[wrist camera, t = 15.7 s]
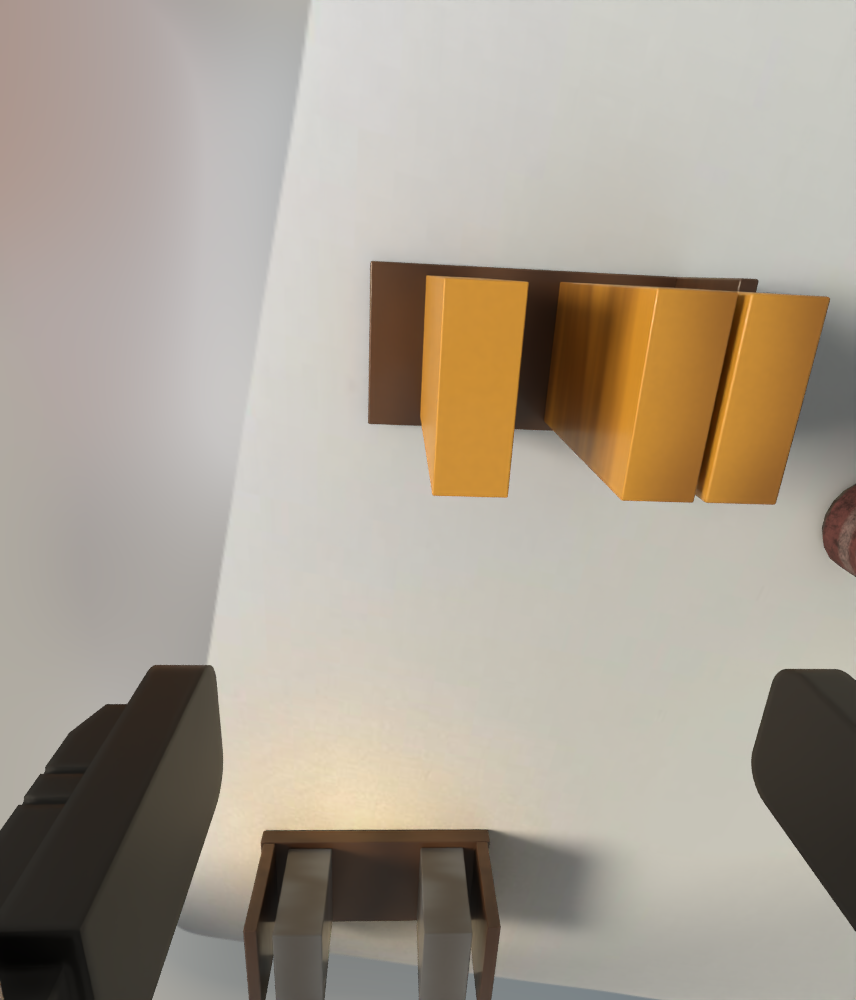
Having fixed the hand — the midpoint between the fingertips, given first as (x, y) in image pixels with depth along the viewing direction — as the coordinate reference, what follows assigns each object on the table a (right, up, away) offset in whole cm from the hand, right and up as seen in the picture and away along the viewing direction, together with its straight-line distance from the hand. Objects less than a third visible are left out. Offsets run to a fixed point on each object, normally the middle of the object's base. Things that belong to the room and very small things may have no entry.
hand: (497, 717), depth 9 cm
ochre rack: (+4, +11, +23) cm, 26 cm away
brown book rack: (-5, -24, +36) cm, 44 cm away
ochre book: (0, +11, +22) cm, 24 cm away
